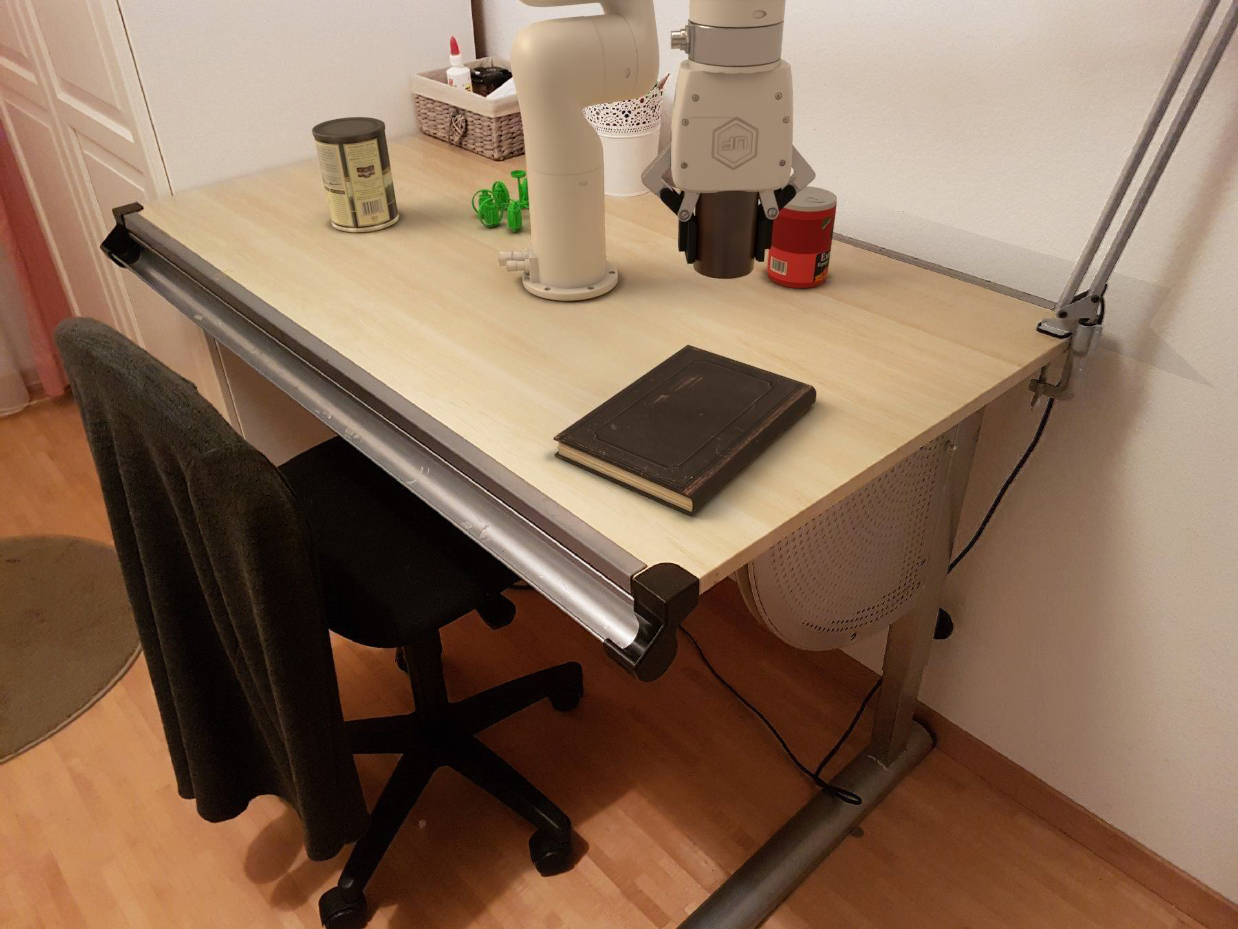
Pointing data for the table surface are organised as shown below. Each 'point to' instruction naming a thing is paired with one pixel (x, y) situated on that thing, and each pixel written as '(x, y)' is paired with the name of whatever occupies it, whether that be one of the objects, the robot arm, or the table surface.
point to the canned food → (803, 239)
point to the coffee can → (356, 173)
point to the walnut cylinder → (726, 233)
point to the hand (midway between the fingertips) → (723, 255)
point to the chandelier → (503, 203)
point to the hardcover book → (685, 427)
